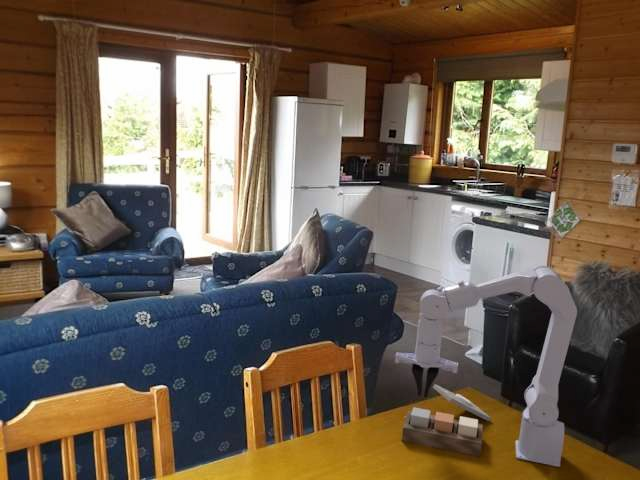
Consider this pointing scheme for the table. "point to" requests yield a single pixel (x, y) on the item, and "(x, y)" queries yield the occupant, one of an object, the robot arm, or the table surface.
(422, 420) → the slate key
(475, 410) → the light switch
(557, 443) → the robot arm
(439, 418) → the rust key
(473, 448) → the brown slotted tray
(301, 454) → the table surface
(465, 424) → the ivory key
